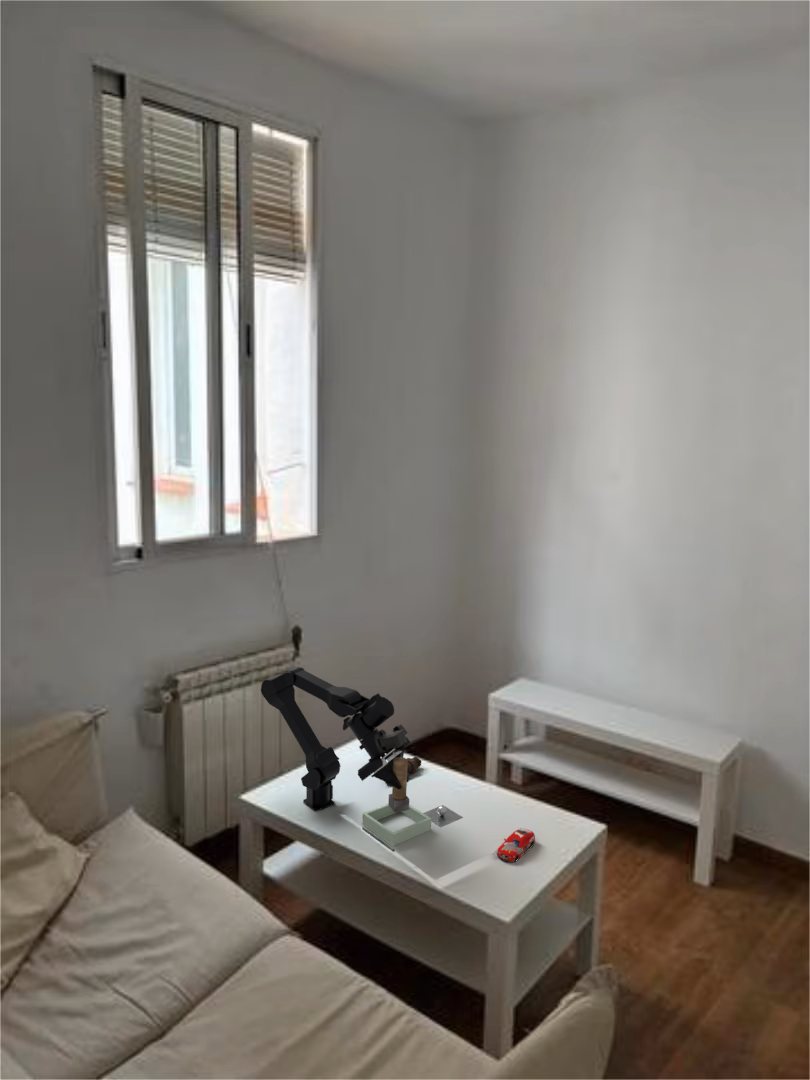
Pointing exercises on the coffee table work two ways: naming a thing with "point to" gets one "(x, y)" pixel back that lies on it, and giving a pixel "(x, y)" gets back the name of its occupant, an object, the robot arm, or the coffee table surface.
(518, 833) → the race car
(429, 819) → the bin
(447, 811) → the square lid with knob
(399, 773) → the brown peg with base
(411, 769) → the bolt
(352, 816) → the coffee table surface
